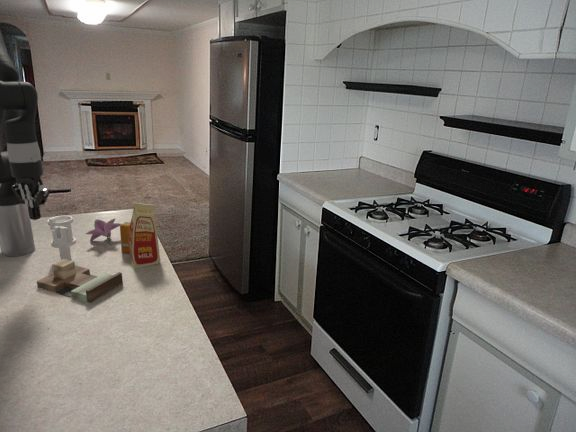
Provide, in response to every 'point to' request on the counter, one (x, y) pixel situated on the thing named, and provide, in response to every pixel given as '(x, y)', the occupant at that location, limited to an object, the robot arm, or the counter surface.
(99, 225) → the lily
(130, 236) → the milk carton
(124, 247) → the supplement box
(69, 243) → the white tall cylindrical piece
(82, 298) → the trap track
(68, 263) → the maple block
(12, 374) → the counter surface
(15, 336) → the counter surface
